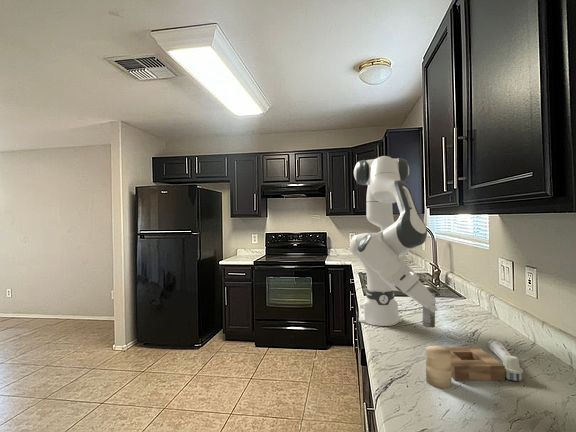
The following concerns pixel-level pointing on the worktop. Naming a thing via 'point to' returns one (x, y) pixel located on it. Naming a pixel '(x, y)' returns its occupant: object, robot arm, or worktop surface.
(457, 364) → the socket block
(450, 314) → the worktop surface
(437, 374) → the fat post
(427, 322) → the cylinder
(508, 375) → the toothbrush head
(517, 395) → the worktop surface
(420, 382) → the worktop surface
